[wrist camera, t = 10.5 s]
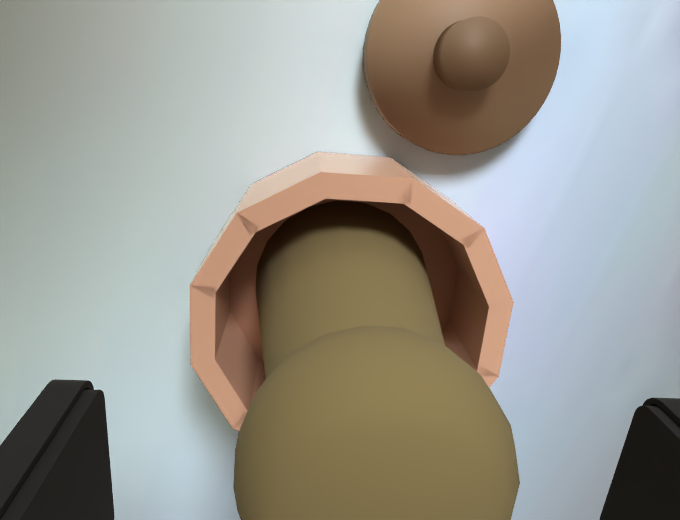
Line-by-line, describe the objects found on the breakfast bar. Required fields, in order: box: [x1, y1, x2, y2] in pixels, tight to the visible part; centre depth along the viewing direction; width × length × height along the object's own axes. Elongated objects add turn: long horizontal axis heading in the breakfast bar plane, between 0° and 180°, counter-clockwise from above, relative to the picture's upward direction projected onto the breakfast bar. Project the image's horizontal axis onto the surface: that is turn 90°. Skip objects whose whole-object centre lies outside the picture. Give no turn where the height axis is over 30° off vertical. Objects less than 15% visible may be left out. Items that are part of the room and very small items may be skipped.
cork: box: [234, 200, 520, 520], centre depth 14 cm, size 6×6×11 cm
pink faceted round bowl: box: [190, 152, 513, 431], centre depth 18 cm, size 9×9×4 cm
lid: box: [363, 0, 561, 155], centre depth 16 cm, size 6×6×2 cm
